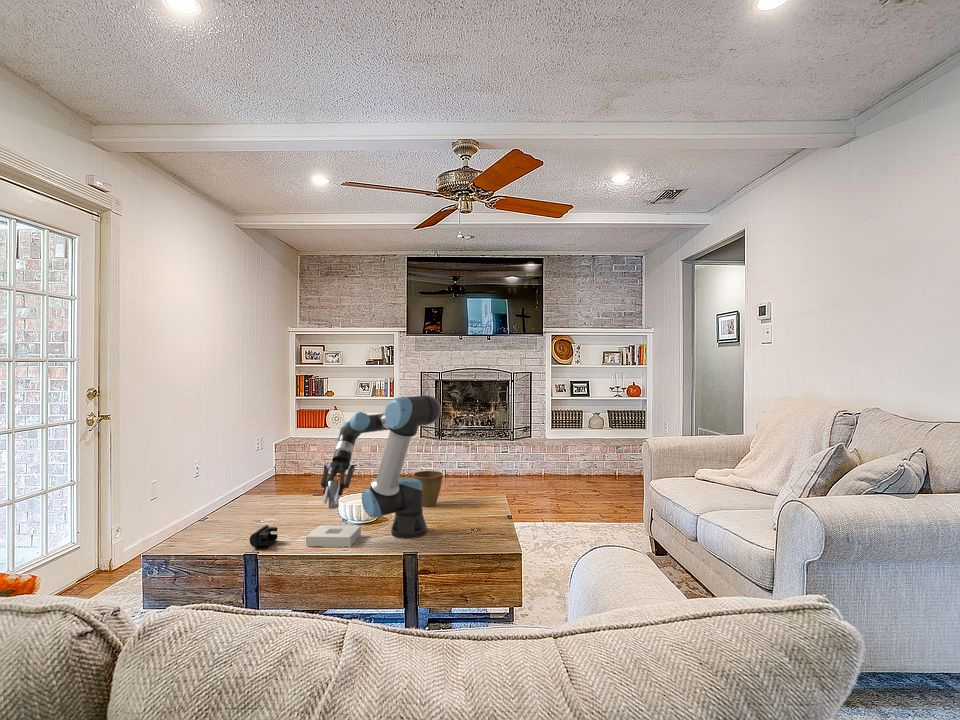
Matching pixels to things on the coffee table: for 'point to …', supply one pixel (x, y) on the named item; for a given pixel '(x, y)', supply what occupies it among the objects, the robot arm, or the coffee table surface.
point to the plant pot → (429, 486)
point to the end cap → (263, 538)
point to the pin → (332, 493)
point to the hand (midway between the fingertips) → (330, 502)
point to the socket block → (333, 536)
